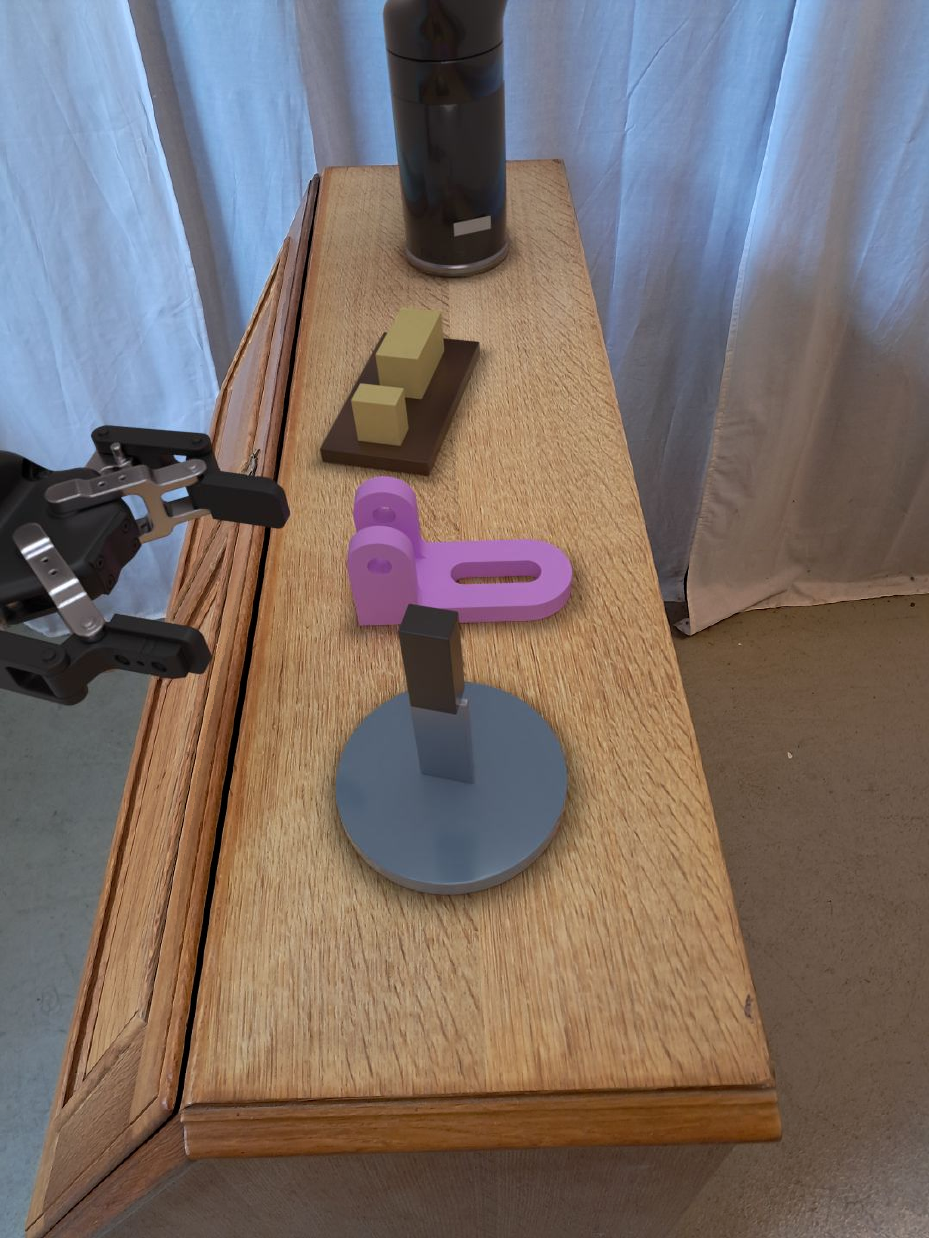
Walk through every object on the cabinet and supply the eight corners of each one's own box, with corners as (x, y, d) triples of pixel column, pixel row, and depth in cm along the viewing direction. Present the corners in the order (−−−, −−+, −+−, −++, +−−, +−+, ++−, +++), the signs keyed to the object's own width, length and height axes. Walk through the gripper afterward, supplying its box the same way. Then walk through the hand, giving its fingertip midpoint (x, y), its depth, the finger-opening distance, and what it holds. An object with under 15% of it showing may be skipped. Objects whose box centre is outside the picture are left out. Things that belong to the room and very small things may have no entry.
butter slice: (366, 423, 67) (360, 383, 64) (408, 428, 66) (403, 388, 63) (358, 440, 65) (350, 400, 63) (400, 446, 65) (395, 405, 62)
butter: (405, 346, 73) (401, 307, 70) (444, 351, 72) (441, 310, 69) (381, 395, 69) (375, 354, 66) (421, 399, 68) (417, 359, 65)
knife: (426, 757, 48) (401, 601, 39) (478, 767, 48) (465, 612, 38) (417, 783, 47) (390, 630, 38) (470, 794, 47) (456, 641, 37)
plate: (379, 677, 53) (376, 664, 52) (584, 714, 51) (585, 701, 50) (305, 865, 46) (300, 855, 45) (541, 920, 43) (542, 909, 42)
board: (385, 344, 75) (383, 331, 74) (480, 354, 74) (479, 341, 73) (322, 462, 66) (319, 449, 65) (428, 476, 64) (427, 463, 63)
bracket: (359, 625, 56) (341, 544, 50) (366, 559, 59) (350, 477, 54) (574, 619, 55) (579, 536, 50) (568, 553, 59) (572, 469, 53)
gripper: (-245, 578, 35) (141, 648, 31) (-27, 362, 43) (291, 400, 40) (-136, 694, 40) (200, 763, 37) (37, 482, 49) (320, 524, 46)
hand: (247, 574), depth 39 cm, fingers open, 8 cm apart
